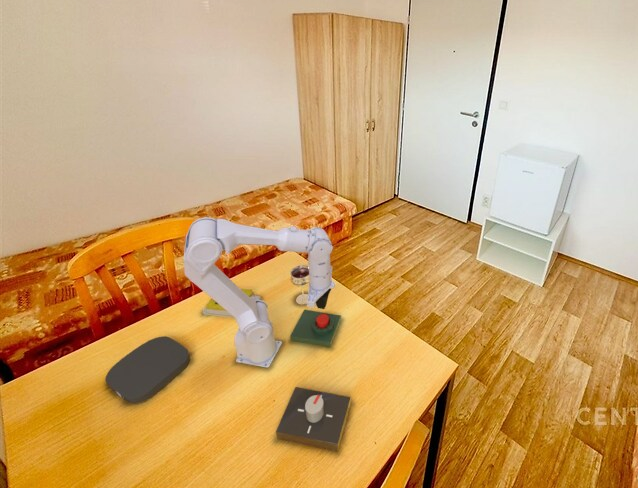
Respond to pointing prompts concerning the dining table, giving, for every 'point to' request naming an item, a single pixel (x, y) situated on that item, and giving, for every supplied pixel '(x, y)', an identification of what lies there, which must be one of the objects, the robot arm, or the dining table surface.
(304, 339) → the button housing
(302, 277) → the wineglass
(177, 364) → the media streaming box
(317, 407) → the dial knob
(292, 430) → the control panel
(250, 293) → the emergency button
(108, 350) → the dining table surface
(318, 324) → the button
